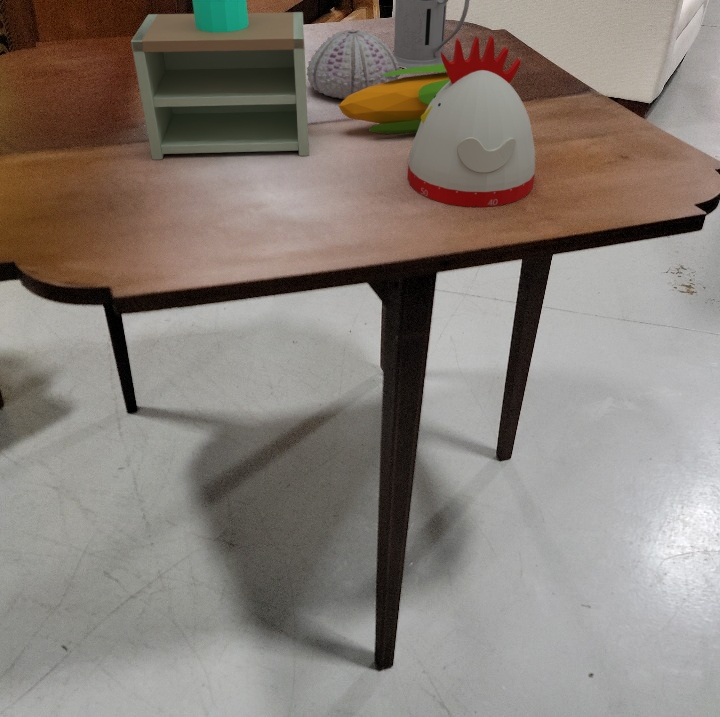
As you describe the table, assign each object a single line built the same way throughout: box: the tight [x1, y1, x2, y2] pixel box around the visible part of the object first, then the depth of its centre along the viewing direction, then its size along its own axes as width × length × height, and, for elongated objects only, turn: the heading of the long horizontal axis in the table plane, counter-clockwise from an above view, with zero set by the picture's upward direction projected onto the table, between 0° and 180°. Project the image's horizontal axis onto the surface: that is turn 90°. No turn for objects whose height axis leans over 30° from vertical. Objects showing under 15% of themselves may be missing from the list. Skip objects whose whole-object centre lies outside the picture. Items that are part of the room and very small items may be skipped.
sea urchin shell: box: [306, 29, 401, 100], centre depth 104 cm, size 13×14×8 cm
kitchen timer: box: [407, 35, 536, 208], centre depth 77 cm, size 14×14×15 cm
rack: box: [130, 11, 310, 161], centre depth 87 cm, size 18×12×13 cm, turn 94°
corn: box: [338, 64, 450, 135], centre depth 92 cm, size 7×8×20 cm
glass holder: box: [393, 0, 470, 68], centre depth 111 cm, size 9×14×15 cm, turn 39°
